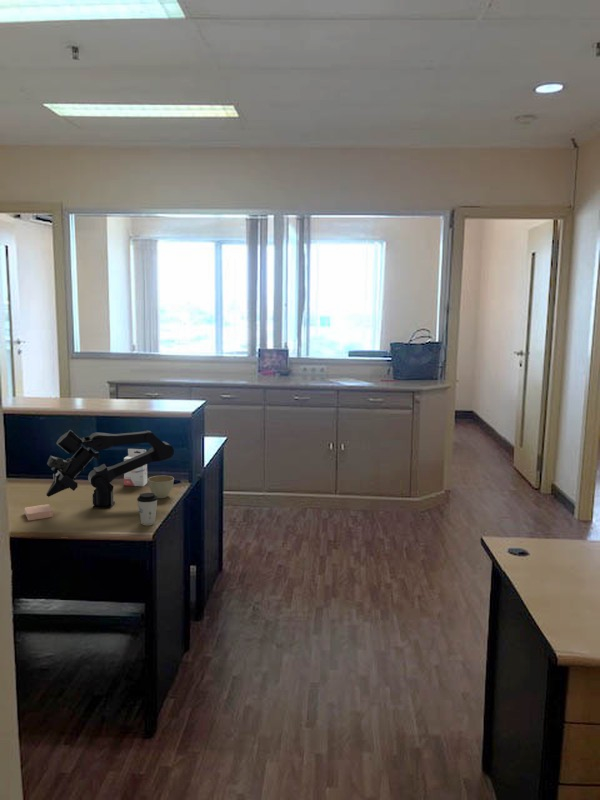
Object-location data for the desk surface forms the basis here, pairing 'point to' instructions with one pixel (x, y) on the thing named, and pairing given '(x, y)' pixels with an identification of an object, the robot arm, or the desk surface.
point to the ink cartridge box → (136, 471)
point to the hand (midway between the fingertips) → (47, 495)
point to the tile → (38, 512)
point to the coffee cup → (147, 508)
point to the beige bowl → (161, 485)
